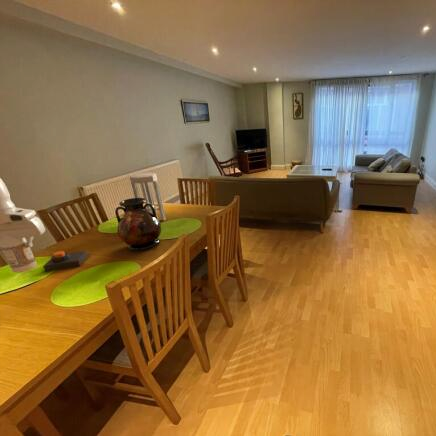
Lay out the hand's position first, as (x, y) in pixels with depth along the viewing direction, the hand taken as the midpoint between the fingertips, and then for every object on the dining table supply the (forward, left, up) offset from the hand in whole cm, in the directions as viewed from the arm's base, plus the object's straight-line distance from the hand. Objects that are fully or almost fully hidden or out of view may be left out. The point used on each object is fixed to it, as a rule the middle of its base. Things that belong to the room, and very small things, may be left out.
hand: (16, 248), depth 94 cm
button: (-2, +26, -18) cm, 31 cm away
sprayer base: (0, +26, -22) cm, 34 cm away
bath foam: (0, 0, -10) cm, 10 cm away
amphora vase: (+34, +34, -23) cm, 53 cm away
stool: (+34, +72, -23) cm, 83 cm away
